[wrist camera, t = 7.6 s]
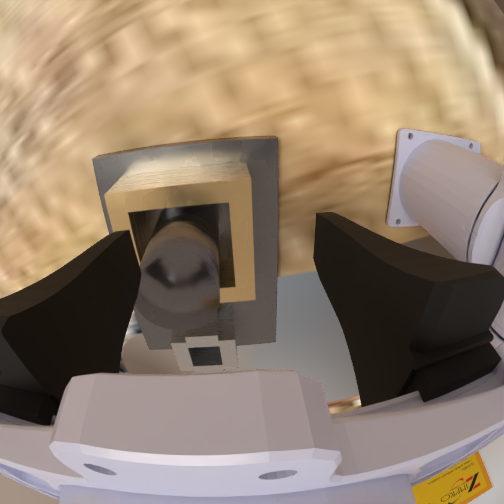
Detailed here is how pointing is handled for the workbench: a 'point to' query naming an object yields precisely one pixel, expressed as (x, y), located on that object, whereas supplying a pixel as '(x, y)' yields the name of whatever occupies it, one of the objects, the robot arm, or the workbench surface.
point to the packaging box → (456, 483)
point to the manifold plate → (230, 233)
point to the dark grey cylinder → (181, 269)
